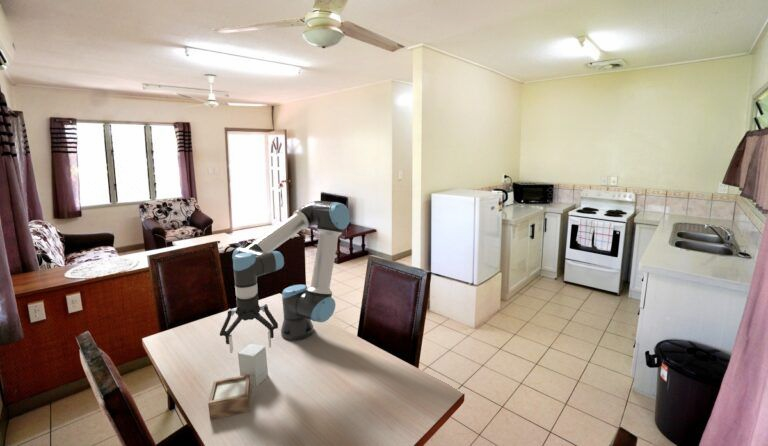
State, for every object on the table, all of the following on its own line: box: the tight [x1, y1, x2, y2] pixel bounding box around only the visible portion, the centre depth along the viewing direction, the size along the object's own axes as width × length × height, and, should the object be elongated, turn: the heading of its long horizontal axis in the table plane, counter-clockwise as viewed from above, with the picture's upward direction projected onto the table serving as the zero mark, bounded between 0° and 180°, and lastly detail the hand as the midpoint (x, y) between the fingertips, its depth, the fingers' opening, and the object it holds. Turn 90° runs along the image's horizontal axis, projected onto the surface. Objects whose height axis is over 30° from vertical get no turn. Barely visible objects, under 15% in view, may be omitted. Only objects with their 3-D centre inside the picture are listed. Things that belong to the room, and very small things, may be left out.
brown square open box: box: [207, 374, 252, 420], centre depth 124 cm, size 12×12×6 cm
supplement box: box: [237, 343, 269, 387], centre depth 137 cm, size 7×7×13 cm
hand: (251, 348), depth 135 cm, fingers open, 13 cm apart
